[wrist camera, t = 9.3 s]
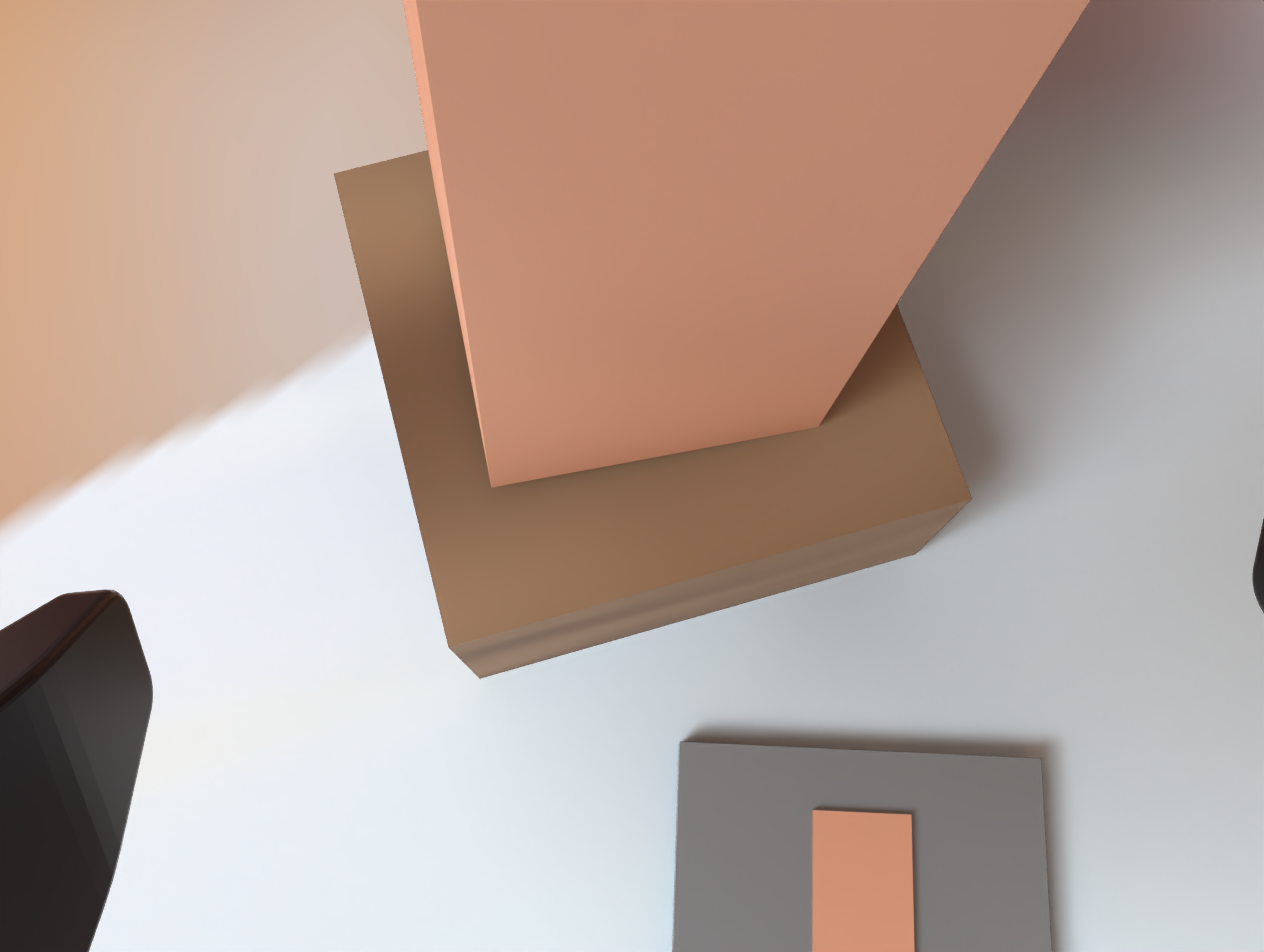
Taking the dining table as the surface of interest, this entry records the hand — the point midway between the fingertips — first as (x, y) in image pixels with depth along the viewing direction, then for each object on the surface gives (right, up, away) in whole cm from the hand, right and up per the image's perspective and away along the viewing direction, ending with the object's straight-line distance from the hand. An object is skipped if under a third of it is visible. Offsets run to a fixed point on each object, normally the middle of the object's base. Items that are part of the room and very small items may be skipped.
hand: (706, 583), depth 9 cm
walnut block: (0, +2, +13) cm, 13 cm away
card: (+3, -8, +10) cm, 13 cm away
